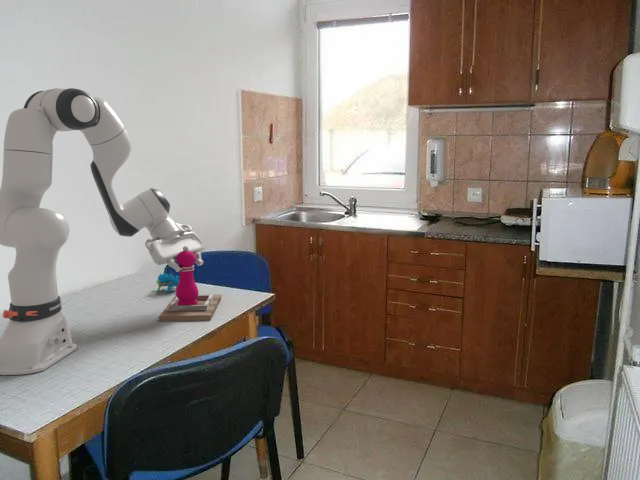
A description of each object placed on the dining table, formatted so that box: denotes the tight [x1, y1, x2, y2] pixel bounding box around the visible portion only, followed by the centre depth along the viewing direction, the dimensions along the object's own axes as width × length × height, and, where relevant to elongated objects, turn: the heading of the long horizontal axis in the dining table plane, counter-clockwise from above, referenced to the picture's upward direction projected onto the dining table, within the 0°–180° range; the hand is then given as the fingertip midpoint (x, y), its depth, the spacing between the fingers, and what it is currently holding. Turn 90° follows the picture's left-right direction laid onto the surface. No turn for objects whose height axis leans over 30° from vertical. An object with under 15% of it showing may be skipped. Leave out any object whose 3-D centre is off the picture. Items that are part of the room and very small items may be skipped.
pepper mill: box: [175, 246, 199, 305], centre depth 171 cm, size 7×7×20 cm
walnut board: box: [158, 294, 222, 322], centre depth 174 cm, size 22×16×3 cm
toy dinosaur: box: [156, 272, 180, 294], centre depth 195 cm, size 11×6×10 cm
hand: (190, 267), depth 172 cm, fingers open, 8 cm apart
